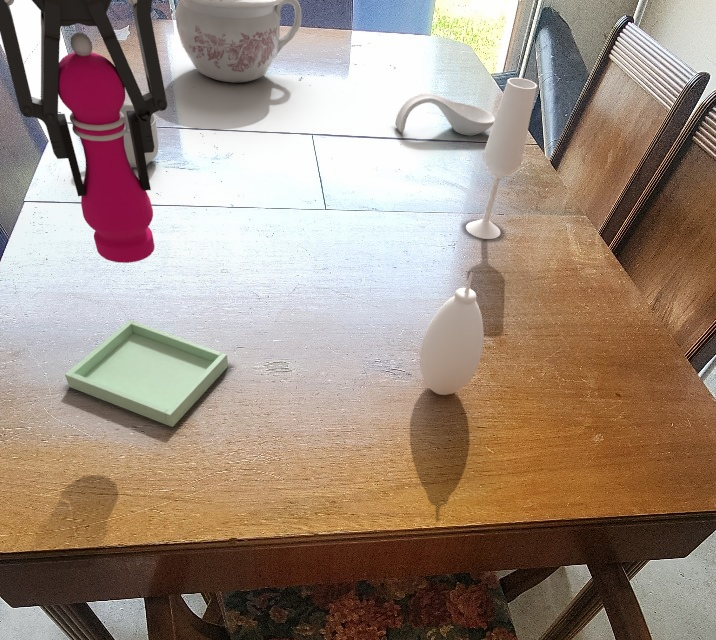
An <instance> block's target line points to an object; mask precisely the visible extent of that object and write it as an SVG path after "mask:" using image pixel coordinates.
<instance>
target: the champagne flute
mask: <svg viewBox="0 0 716 640" xmlns="http://www.w3.org/2000/svg"><path fill="white" fill-rule="evenodd" d="M537 87H538V85H537V83H535V82H534V81H532V80H530V79H527V78H522V77H511V78H508V79H507V81H506V84H505V87H504V90H503V93H502V96H501V99H500V102H499V105H498V108H497V111H496V114H495V116H494V117H495V120H494V123H493V125H492V126H491V129H490V133H489V134H488V135H489V136H488V139H487V141H486V144H485V148H484V151H483V161H484V164H485V166H486V168H487V170H488V171H489V173H490V175H491V176H493V179H492V183H491V185H490V189H489V194H488V197H487V202H486V206H485V210H484V213H483V217H482V218H481V219H477V220H474V221H470V222H468V223H467V224H466V226H465V230H466V231H467V232H468V233H469V234H470V235H472V236H474V237H475V238H479V239H484V240H493V239H496V238H499V237H500V236H501V230H500V229H499V227H498V226H497V225H495V224H494V223H493V222H492V221H490V218H491V214H492V211H493V207H494V203H495V199H496V196H497V193H498V189H499V185H500V181H501V178H504V177H506V176H508V175H509V174H511V173H512V172H515V170H516V169H518V167H519V166H520V165H521V163H522V161H523V155H524V151H525V147H526V141H527V136H528V132H529V128H530V127H529V126H530V122H531V116H532V111H533V106H534V102H535V97H536V92H537Z"/></svg>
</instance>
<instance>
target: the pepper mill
mask: <svg viewBox="0 0 716 640" xmlns="http://www.w3.org/2000/svg"><path fill="white" fill-rule="evenodd" d="M70 47H71V50H72V51H73V52H71V53H68V54H67V55H65V56H64V57H62V58H61V60H59V86H58V98H59V99H60V101H61V102H62V103H63V105H65V107H66V108H67V109H68V110H69V111H70V112H71V113H70V115H69V121H70V122H71V124H72V132H73V133H74V135H75V136H77V137H79V140H80V143H81V146H82V148H83V154H84V159H85V171H84V177H83V181H82V182H83V186H84V190H85V194H86V196H80V197H81V198H80V205H81V211H82V217H83V219H84V221H85V222H86V224H87V225H88V226H89V227H90V228H91V229H92V230H93V231H94V233H93V239H94V244H95V247H96V251H97V254H98V255H100V257H102V258H103V259H105V260H106V261H110V262H114V263H118V264H119V263H121V264H128V263H135V262H140V261H143V260H145V259H147V258H148V257H150V256H152V254H153V252H154V250H155V247H156V246H155V241H154V235H153V231H152V230H151V228H150V227H149V226H150V225H151V223H152V221H153V217H154V210H153V206H152V202H151V199H150V197H149V194H148V192H147V190H146V191H143V188H142V185H141V182H140V180H139V177H138V175H136V173H135V170H134V169H133V167H131V166H130V163H129V161H128V159H127V155H126V151H125V147H124V136H123V135H124V134H125V133H126V131H127V127H126V125H125V122H124V121H125V116H124V115H123V113H122V112H120V110H121V108H122V106H123V104H125V101H126V89H125V87H124V85H123V83H122V80H121V78H120V76H119V74H118V72H117V69H116V67H115V65H114V63H112V62H111V60H109V59H108V58H107V57H105V56H103V55H101V54H99V53H96V52H93V43H92V41H91V39H90V37H89V36H88V34H86V33H84V32H81V31H76V32H74V33H73V34H72V35H71V37H70Z"/></svg>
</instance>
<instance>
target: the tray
mask: <svg viewBox="0 0 716 640" xmlns="http://www.w3.org/2000/svg"><path fill="white" fill-rule="evenodd" d="M228 367H229V362H228V354H227V353H224V352H222V351H218V350H216V349H214V348H210V347H208V346H206V345H203V344H199V343H196V342H194V341H191V340H188V339H186V338H182V337H180V336H177V335H175V334H171V333H169V332H166V331H163V330H160V329H157V328H155V327H151V326H149V325H147V324H144V323H140V322H138V321H135V320H132V319H128V321H127V320H126V322H125V323H123V325H122V326H120V327H119V328H118V329H117V330H115V331H114V332H113V333H112V334H110V336H109V337H107V338H106V339H105V340H103V342H101V343H100V344H99V345H97V346H96V347H95V348H94V349H93V350H92V351H91V352H89V353H88V354H87V355H86V356H85V357H84V358H82V359H81V360H80V361H79V362H77V363H76V364H75V365H74V366H73V367H72V368H70V369H69V370H67V372H66V373H64V377H65V380H66V382H67V384H68V387H69V388H71V389H73V390H76V391H80V392H82V393H84V394H86V395H89V396H91V397H94V398H97V399H99V400H102V401H104V402H107V403H110V404H111V405H115V406H117V407H120V408H122V409H125V410H127V411H131V412H132V413H135V414H138V415H141V416H142V417H146V418H148V419H150V420H153V421H155V422H158V423H161V424H163V425H166V426H169V427H172V428H173V427H174V426H175V425H176V424H177V423H179V421H180V420H181V419H182V417H183V416H185V415H186V413H187V412H188V411H189V410H190V409H191V408H192V407H193V406H194V404H195V403H196V402H197V401H199V399H200V398H201V397H202V396H203V395H204V393H205V392H206V391H207V390H208V389H210V387H211V386H212V385H213V384H214V383H215V381H216V380H217V379H219V377H220V376H221V375H222V374H223V373H224V372H225V371H226V369H227V368H228Z"/></svg>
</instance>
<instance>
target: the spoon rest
mask: <svg viewBox="0 0 716 640" xmlns="http://www.w3.org/2000/svg"><path fill="white" fill-rule="evenodd" d="M423 104H433V105H435V106H436V107H437V108H439V110H440V111H441V113H442V114H443V116H444V117H445V119H446V120H447V122H448V123H449V125H450V126H451V128H452V129H453V131H455V133H458V134H460V135H464V136H476V135H478V134H482V133H484V132H487V130H489V129H490V128H492V126H493V123H494V120H495V117H496V116H494V115H493V114H492V112H490V111H488V110H485V109H483V108H482V107H479V106H476V105H472V104H468V103H465V102H464V103H463V102H459V101H454V100H450V99H449V98H445V97H443V96H440V95H438V94H435V93H431V92H430V93H429V92H424V93H419V94H416V95H413V96H412V97H410V98H408V100H406V101H405V103H404V104H402V106H401V107H400V109H399V111H398V113H397V115H396V118H395V122H394V125H395V127H396V128H397V130H398V131H399V132H400V133H404V131H405V128H406V123H407V120H408V117H409V115H410V114H411V113H412V111H413V110H414V109H415V108H417V107H419V106H421V105H423Z"/></svg>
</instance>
